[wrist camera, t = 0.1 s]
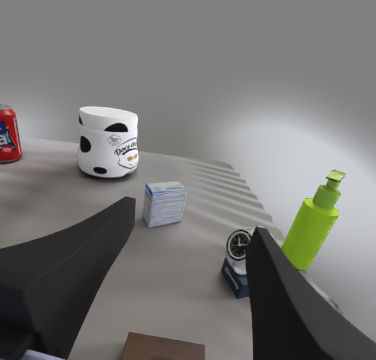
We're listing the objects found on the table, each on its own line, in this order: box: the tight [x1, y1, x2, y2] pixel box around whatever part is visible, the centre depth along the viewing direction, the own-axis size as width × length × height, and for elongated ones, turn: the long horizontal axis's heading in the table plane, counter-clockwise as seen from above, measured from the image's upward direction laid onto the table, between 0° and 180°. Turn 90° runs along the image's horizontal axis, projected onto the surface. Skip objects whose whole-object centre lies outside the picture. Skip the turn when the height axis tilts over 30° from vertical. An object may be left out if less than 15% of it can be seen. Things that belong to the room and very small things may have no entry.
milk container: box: [77, 107, 138, 179], centre depth 62 cm, size 17×17×18 cm
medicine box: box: [143, 181, 187, 228], centre depth 46 cm, size 8×4×9 cm, turn 119°
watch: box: [221, 226, 277, 299], centre depth 34 cm, size 6×8×11 cm
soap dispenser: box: [281, 170, 346, 270], centre depth 39 cm, size 6×7×20 cm
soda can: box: [0, 104, 22, 163], centre depth 58 cm, size 8×8×15 cm
